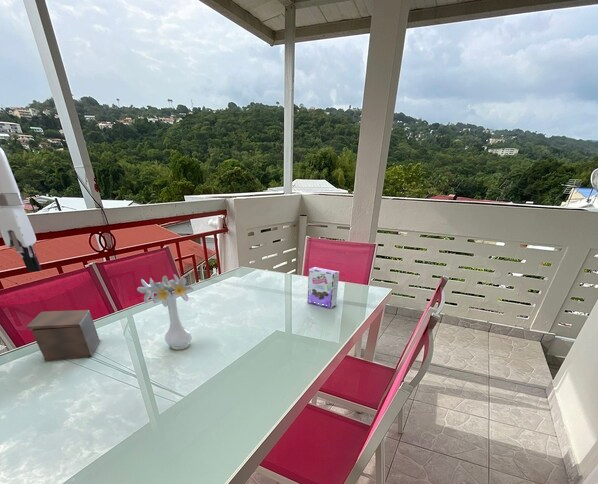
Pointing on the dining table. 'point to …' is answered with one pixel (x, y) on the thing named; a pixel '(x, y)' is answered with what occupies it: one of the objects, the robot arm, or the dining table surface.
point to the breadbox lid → (58, 319)
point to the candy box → (323, 287)
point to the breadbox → (67, 341)
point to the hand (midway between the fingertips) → (34, 270)
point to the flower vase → (170, 307)
